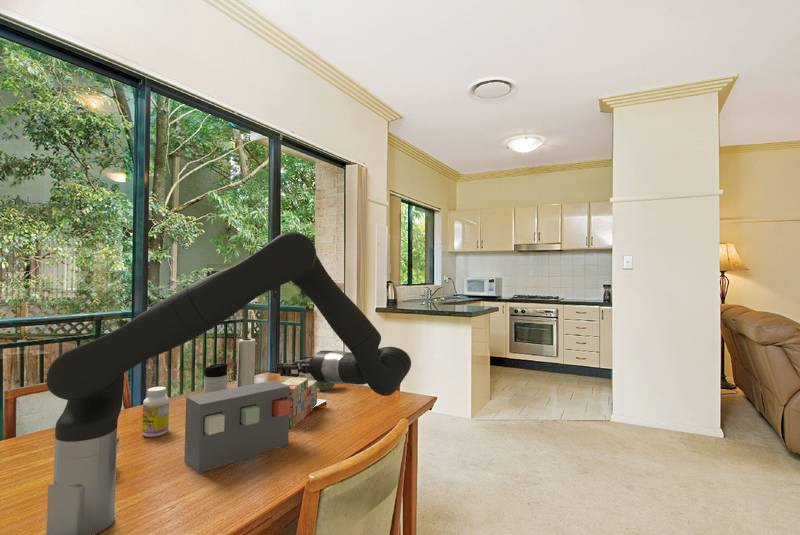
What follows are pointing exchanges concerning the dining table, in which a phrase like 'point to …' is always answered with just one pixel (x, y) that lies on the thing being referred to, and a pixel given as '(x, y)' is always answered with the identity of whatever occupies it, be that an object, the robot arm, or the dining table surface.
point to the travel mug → (215, 378)
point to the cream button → (214, 423)
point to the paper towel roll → (246, 362)
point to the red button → (281, 407)
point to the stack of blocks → (301, 398)
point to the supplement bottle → (155, 412)
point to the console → (234, 425)
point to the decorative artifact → (324, 385)
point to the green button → (249, 415)
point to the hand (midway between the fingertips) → (290, 364)
